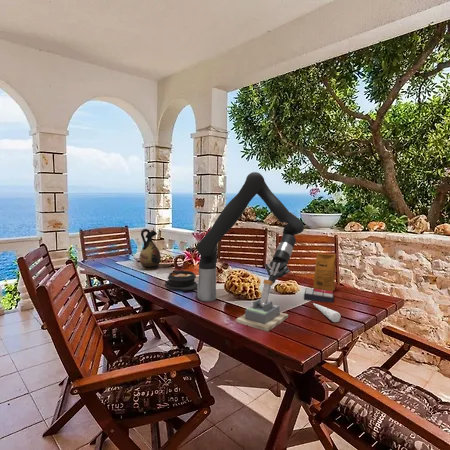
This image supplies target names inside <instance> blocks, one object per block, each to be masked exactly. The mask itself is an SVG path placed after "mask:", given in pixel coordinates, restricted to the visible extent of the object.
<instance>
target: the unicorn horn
mask: <svg viewBox="0 0 450 450" xmlns="http://www.w3.org/2000/svg"><path fill="white" fill-rule="evenodd" d="M312 304H313V306H314V307H315V308H316V309H317V310H319V312H320V313H322V314H323V315H324V316H325V317H326V318H327V319H329V320H330V322H332V323H339V322H340V320H341V313H339V312H338V311H336V310H334V309H330V308H329V307H325V306H323V305H320V304H317V303H314V302H313V303H312Z"/></svg>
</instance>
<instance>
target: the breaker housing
mask: <svg viewBox="0 0 450 450" xmlns="http://www.w3.org/2000/svg"><path fill="white" fill-rule="evenodd" d="M260 300H261V298H258V299H256V300H255V301H253V302H252V306H250V307H248V308H246V309H244V314H245V319H247V320H251V321H254V322H258V323H261V324H266V323H268V322H269V321H271V320H272V319H274V318H275V317H277V316H278V315H280V312H281V306H280V305H276V304H274V303H273V302H274V301H273V300H270V301H267V303H266V304H264V307H260V306H258V303H259V302H260Z"/></svg>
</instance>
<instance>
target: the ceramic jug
mask: <svg viewBox="0 0 450 450" xmlns="http://www.w3.org/2000/svg"><path fill="white" fill-rule="evenodd" d="M146 232H147V233H146ZM144 233H146V235H145V236H144ZM157 235H158V233H157V232H156V231H155V230H149V229H148V228H143V229H141V232H140V236H141V239H142V242H143V247H142V248H141V250H140V253H139V263H140V264H141V266H142V267H143V270H148V271H153V270H157V269H158V267H159V265H160V264H161V261H162V256H161V252H160V249H159V248H158V247H157V245H156V244H155V242H153V237H155V236H157Z"/></svg>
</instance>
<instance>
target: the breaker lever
mask: <svg viewBox="0 0 450 450" xmlns="http://www.w3.org/2000/svg"><path fill="white" fill-rule="evenodd" d="M262 284H263V287H262V291H261V296H260V299H261V300H260V302H259V303H258V306H260V307H264V304H266V303H268V302H269V296H270V293H271V292H270V291H271V288H272V286H273V285H274V284H273V282H272V281H270V280H268V279H265V278H264V279H263V283H262ZM272 284H273V285H272Z"/></svg>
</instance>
